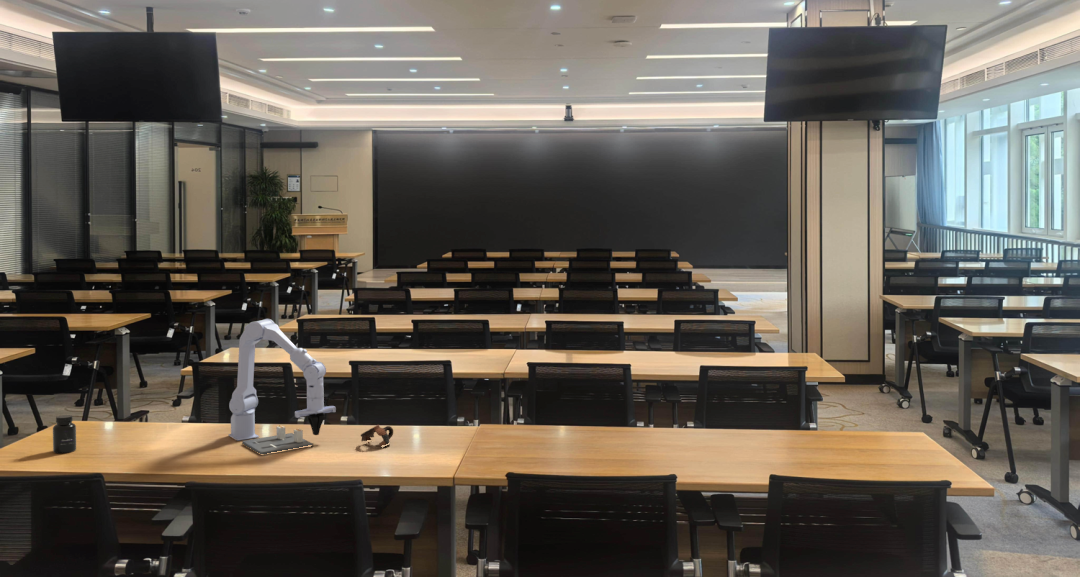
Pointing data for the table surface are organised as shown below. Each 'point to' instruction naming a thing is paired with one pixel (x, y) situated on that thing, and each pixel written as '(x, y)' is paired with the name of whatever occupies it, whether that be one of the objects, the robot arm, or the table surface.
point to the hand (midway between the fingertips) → (315, 434)
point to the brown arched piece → (380, 432)
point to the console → (274, 444)
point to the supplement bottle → (64, 435)
